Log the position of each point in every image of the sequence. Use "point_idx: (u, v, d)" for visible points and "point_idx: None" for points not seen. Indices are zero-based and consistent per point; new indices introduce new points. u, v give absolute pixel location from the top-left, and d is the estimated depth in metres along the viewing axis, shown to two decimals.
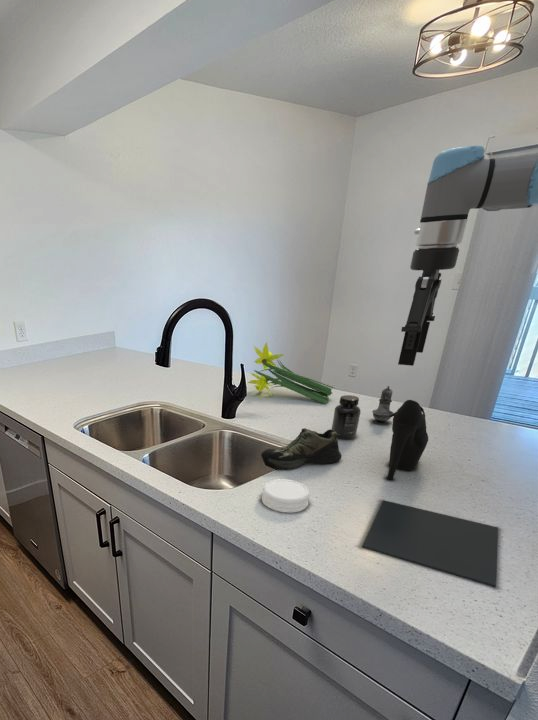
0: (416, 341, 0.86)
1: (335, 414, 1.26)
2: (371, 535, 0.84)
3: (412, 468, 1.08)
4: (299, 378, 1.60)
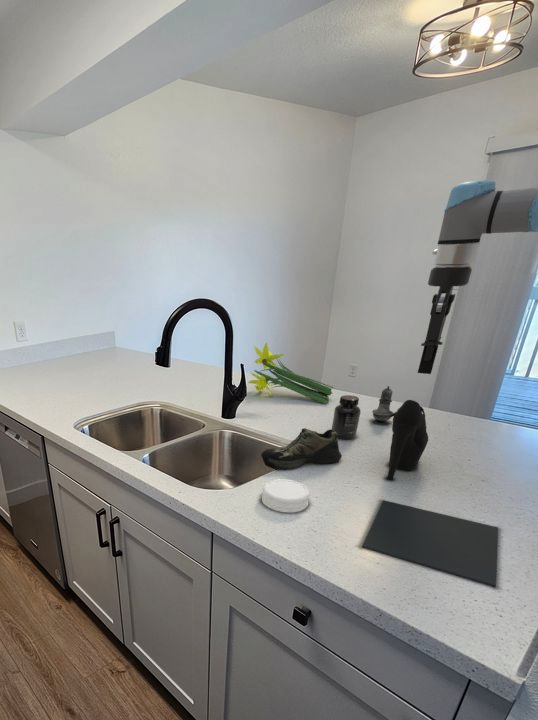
0: (433, 353, 1.03)
1: (335, 414, 1.26)
2: (371, 535, 0.84)
3: (412, 468, 1.08)
4: (299, 378, 1.60)
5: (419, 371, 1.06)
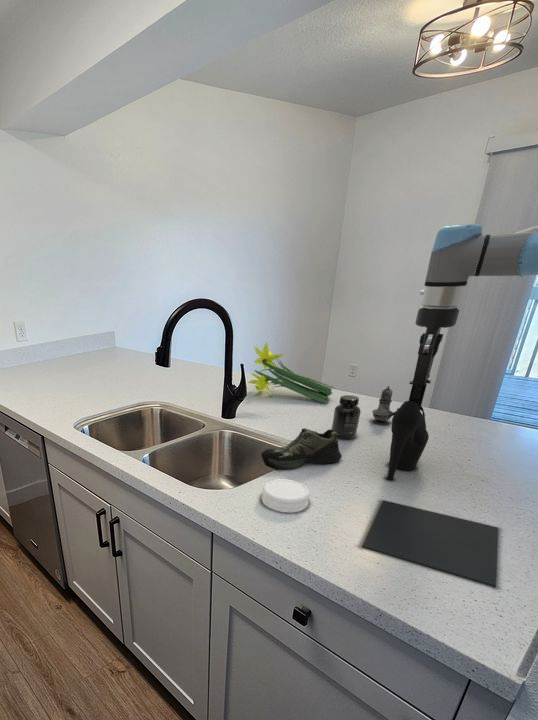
0: (421, 392, 1.02)
1: (335, 414, 1.26)
2: (371, 535, 0.84)
3: (412, 467, 1.07)
4: (299, 378, 1.60)
5: None
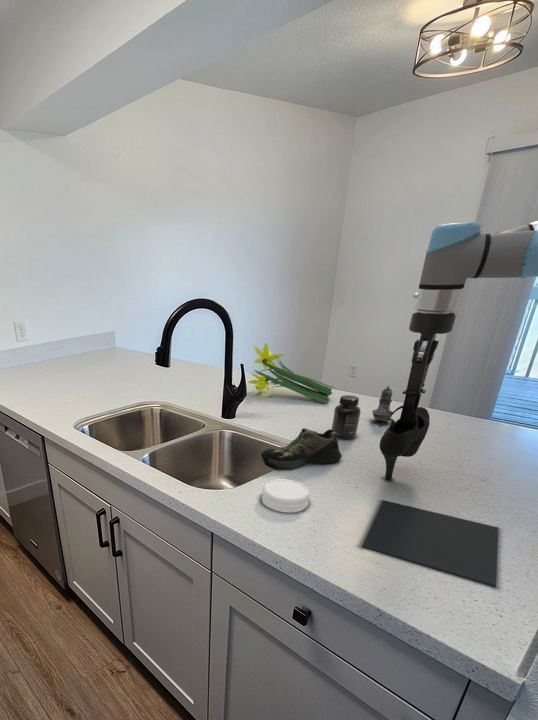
0: (415, 402, 0.95)
1: (335, 414, 1.26)
2: (371, 535, 0.84)
3: (414, 453, 1.04)
4: (299, 378, 1.60)
5: (401, 420, 0.98)
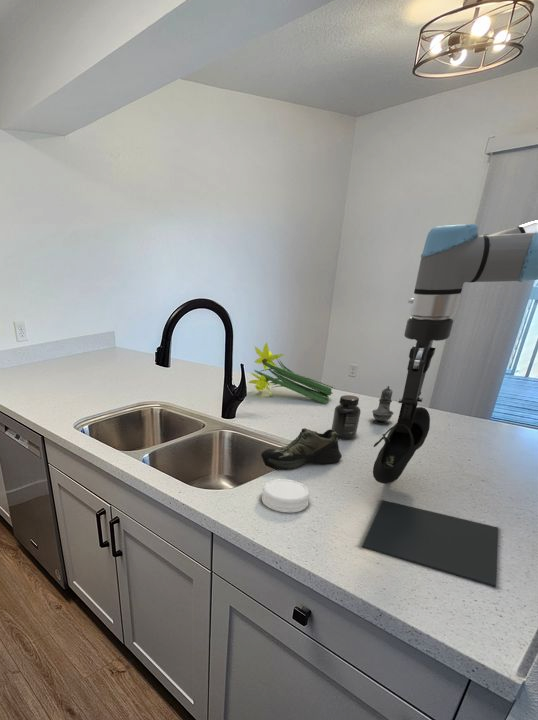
0: (412, 411, 0.91)
1: (335, 414, 1.26)
2: (371, 535, 0.84)
3: None
4: (299, 378, 1.60)
5: (397, 430, 0.94)
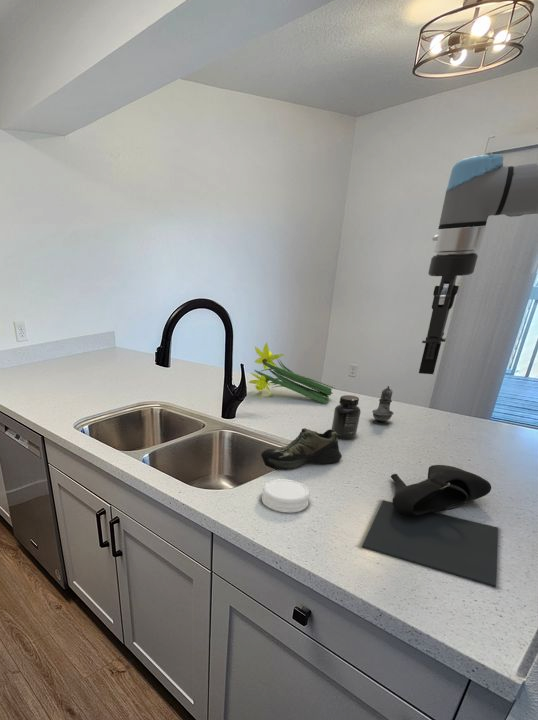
0: (435, 351, 0.92)
1: (335, 414, 1.26)
2: (371, 535, 0.84)
3: None
4: (299, 378, 1.60)
5: (420, 371, 0.95)
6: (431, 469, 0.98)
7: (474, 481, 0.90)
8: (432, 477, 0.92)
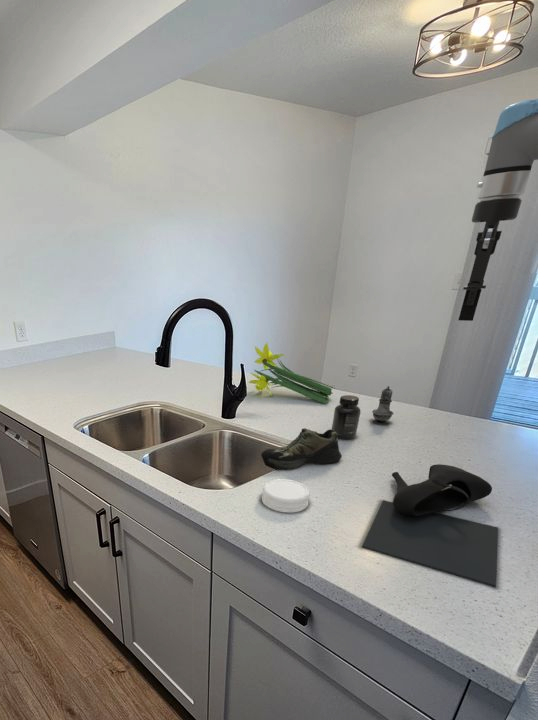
0: (476, 297, 0.96)
1: (335, 414, 1.26)
2: (371, 535, 0.84)
3: None
4: (299, 378, 1.60)
5: (460, 318, 0.99)
6: (432, 469, 0.97)
7: (475, 482, 0.90)
8: (433, 477, 0.92)
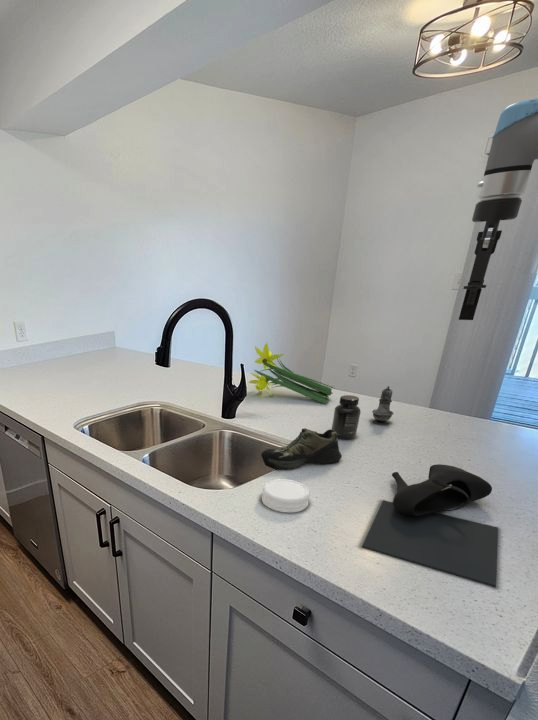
0: (476, 297, 0.97)
1: (335, 414, 1.26)
2: (371, 535, 0.84)
3: None
4: (299, 378, 1.60)
5: (460, 318, 1.00)
6: (432, 469, 0.97)
7: (475, 482, 0.90)
8: (433, 477, 0.92)
